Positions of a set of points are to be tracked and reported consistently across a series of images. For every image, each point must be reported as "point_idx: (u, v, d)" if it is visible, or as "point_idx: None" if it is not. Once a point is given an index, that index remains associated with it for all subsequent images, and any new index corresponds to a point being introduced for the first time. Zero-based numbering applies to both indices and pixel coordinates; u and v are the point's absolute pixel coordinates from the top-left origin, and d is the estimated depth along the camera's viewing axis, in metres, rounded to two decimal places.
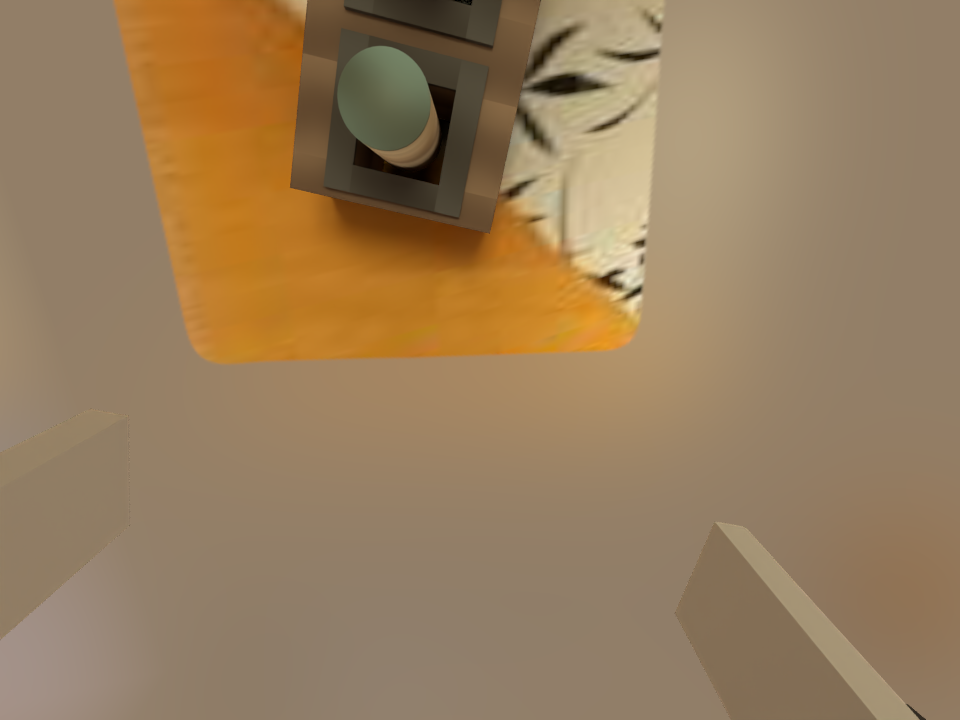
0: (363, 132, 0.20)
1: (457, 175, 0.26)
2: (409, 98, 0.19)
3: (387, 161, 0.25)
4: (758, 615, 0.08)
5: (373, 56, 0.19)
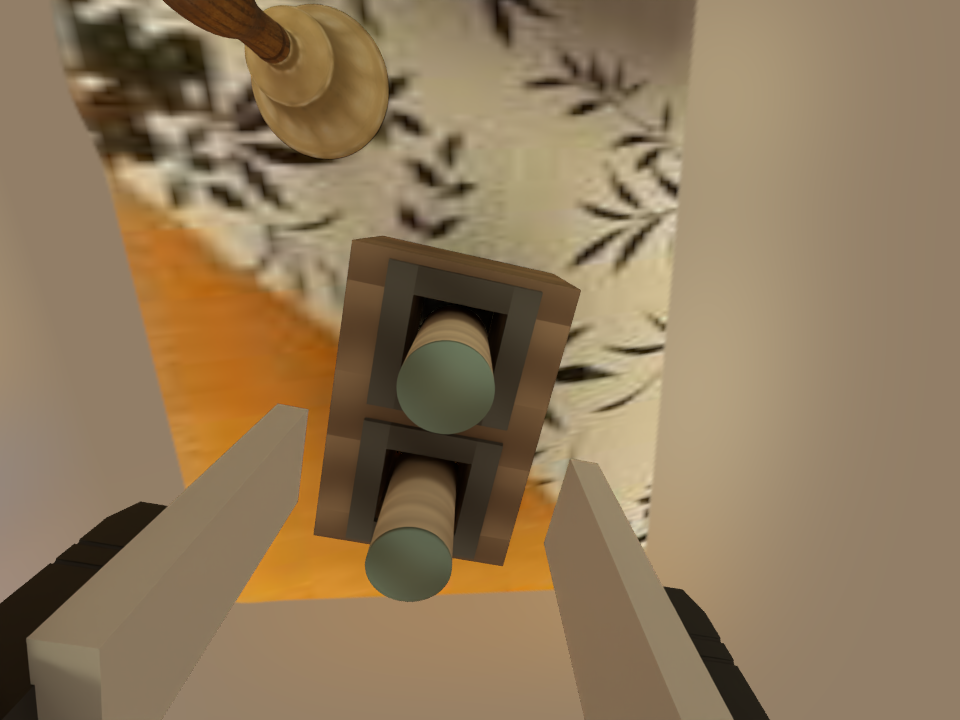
0: (389, 590, 0.21)
1: (472, 527, 0.27)
2: (432, 566, 0.21)
3: None
4: (581, 528, 0.10)
5: (399, 538, 0.20)
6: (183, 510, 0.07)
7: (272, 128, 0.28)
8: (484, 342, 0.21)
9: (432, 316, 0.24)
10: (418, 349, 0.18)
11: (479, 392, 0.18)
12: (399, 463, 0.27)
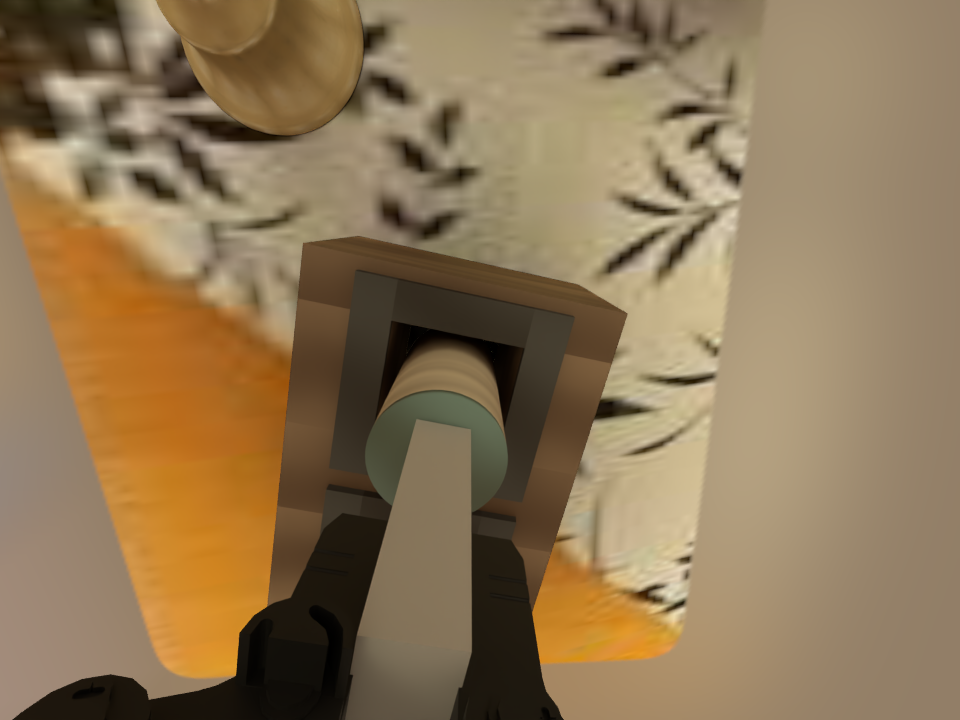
0: None
1: None
2: None
3: None
4: None
5: None
6: (402, 522, 0.08)
7: (209, 94, 0.21)
8: (491, 382, 0.15)
9: (422, 341, 0.18)
10: (396, 404, 0.12)
11: (485, 464, 0.13)
12: None
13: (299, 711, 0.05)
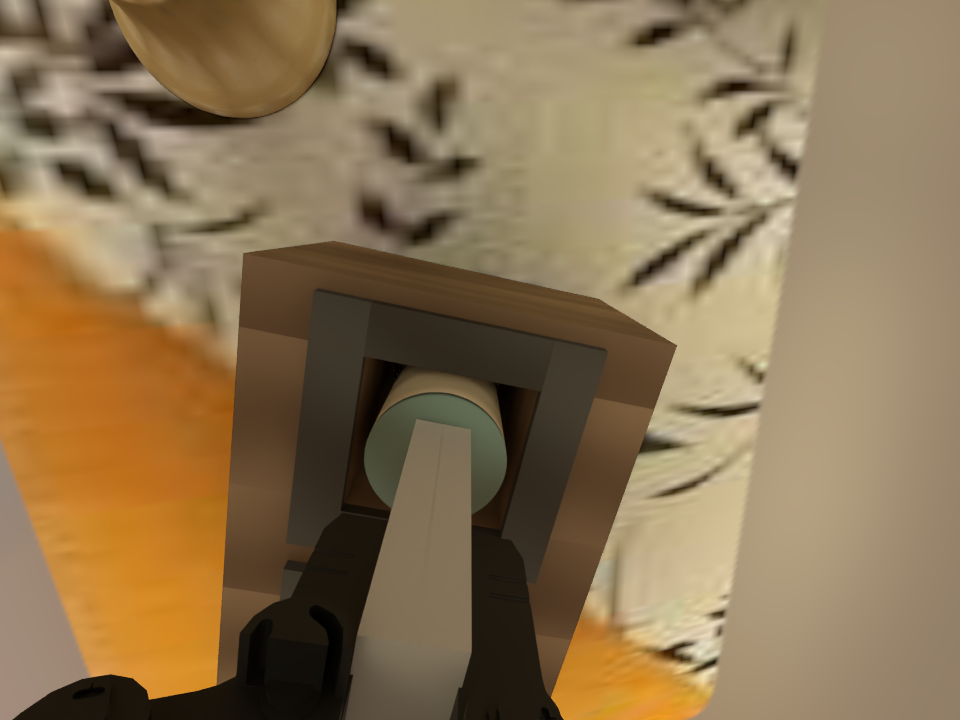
0: None
1: None
2: None
3: None
4: None
5: None
6: (403, 522, 0.08)
7: (145, 65, 0.17)
8: (490, 384, 0.15)
9: None
10: (395, 406, 0.12)
11: (484, 466, 0.13)
12: None
13: (299, 711, 0.05)
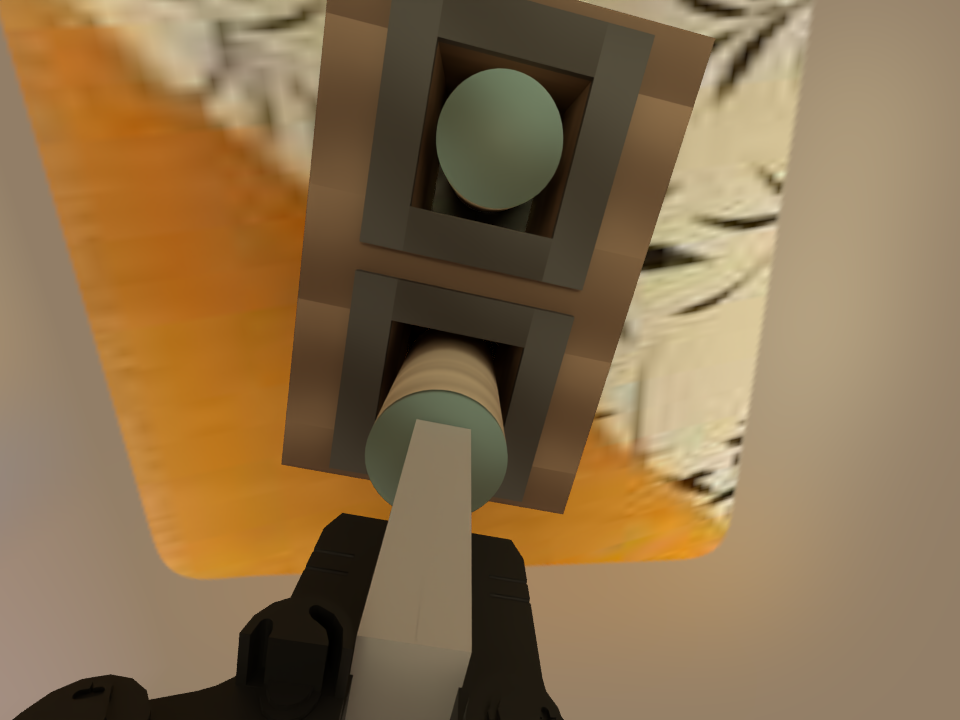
0: None
1: (521, 452, 0.18)
2: (475, 458, 0.12)
3: None
4: None
5: (422, 406, 0.12)
6: (403, 522, 0.08)
7: None
8: None
9: None
10: (465, 81, 0.14)
11: (543, 146, 0.14)
12: (414, 345, 0.19)
13: (299, 711, 0.05)
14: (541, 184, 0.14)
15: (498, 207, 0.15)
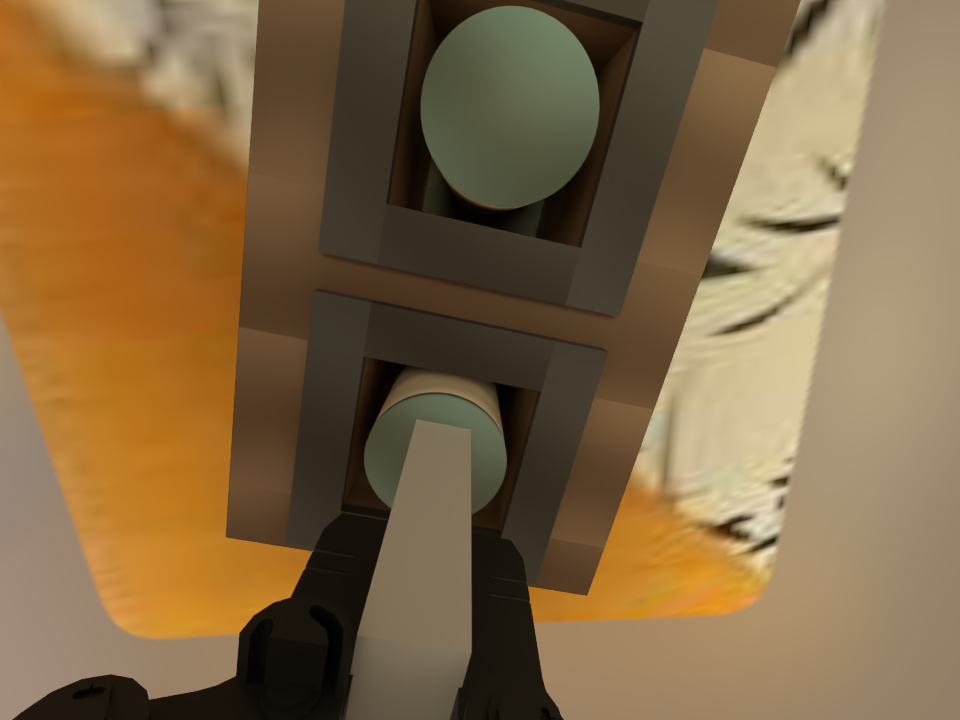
0: None
1: (536, 523, 0.14)
2: (475, 460, 0.12)
3: None
4: None
5: (421, 409, 0.12)
6: (403, 522, 0.08)
7: None
8: None
9: None
10: (462, 25, 0.09)
11: (571, 118, 0.10)
12: None
13: (299, 711, 0.05)
14: (567, 173, 0.10)
15: (507, 205, 0.11)
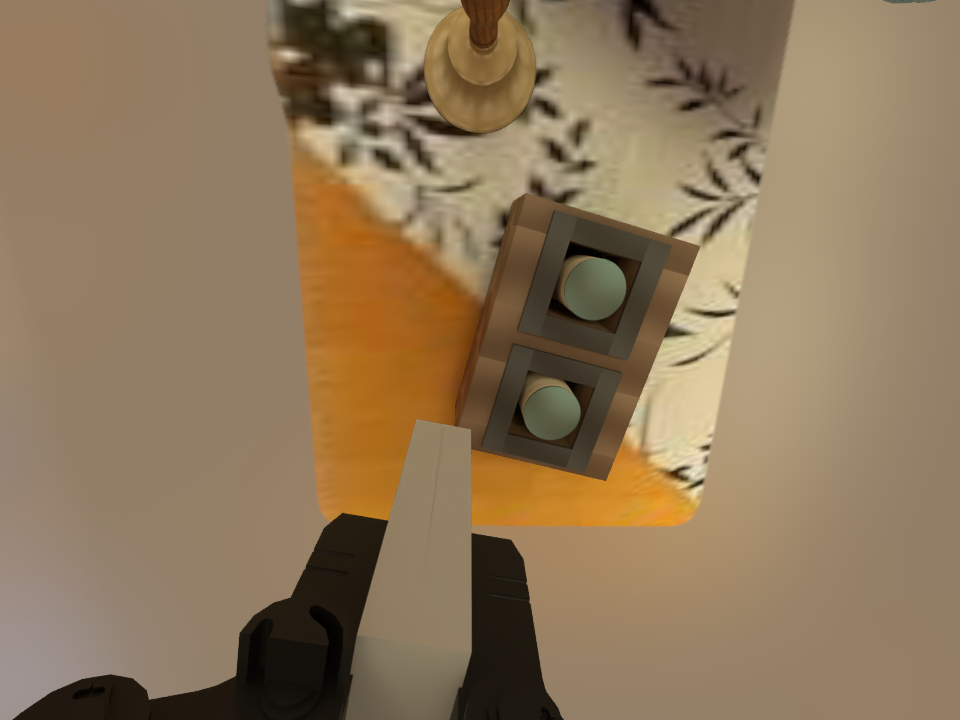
0: (536, 430, 0.31)
1: (587, 443, 0.32)
2: (567, 414, 0.31)
3: None
4: None
5: (549, 392, 0.31)
6: (403, 521, 0.08)
7: (436, 103, 0.33)
8: None
9: None
10: (582, 262, 0.28)
11: (616, 293, 0.29)
12: None
13: (299, 711, 0.05)
14: (613, 310, 0.29)
15: (591, 319, 0.29)
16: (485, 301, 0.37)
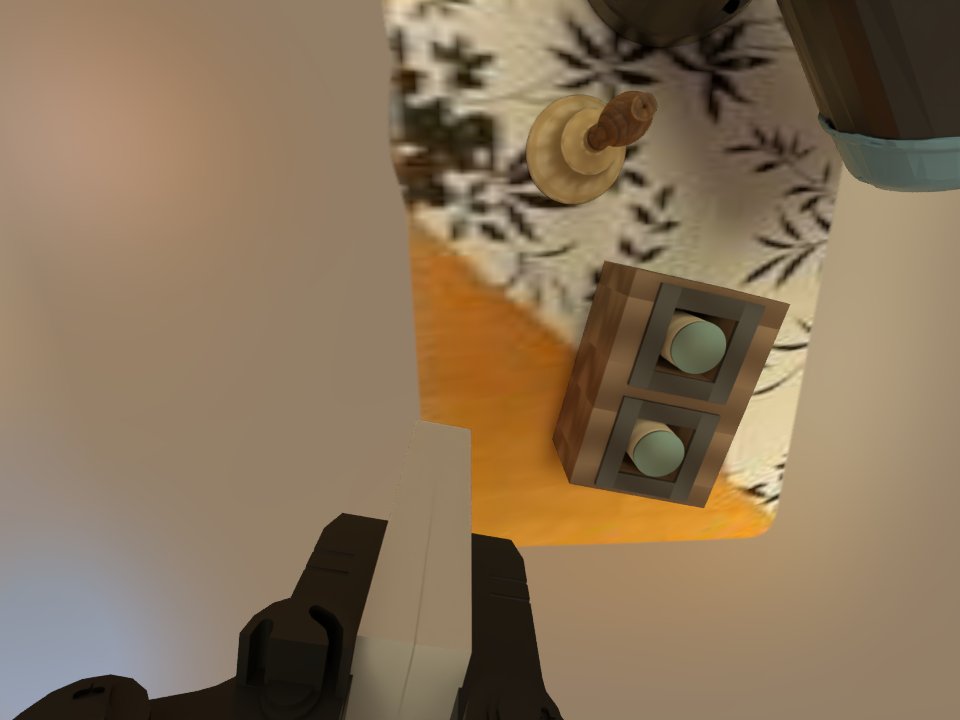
0: (645, 469, 0.36)
1: (689, 477, 0.37)
2: (673, 454, 0.35)
3: None
4: None
5: (657, 436, 0.35)
6: (403, 522, 0.08)
7: (538, 182, 0.37)
8: None
9: None
10: (687, 326, 0.32)
11: (717, 350, 0.33)
12: None
13: (299, 711, 0.05)
14: (714, 364, 0.33)
15: (695, 373, 0.33)
16: (581, 349, 0.41)
